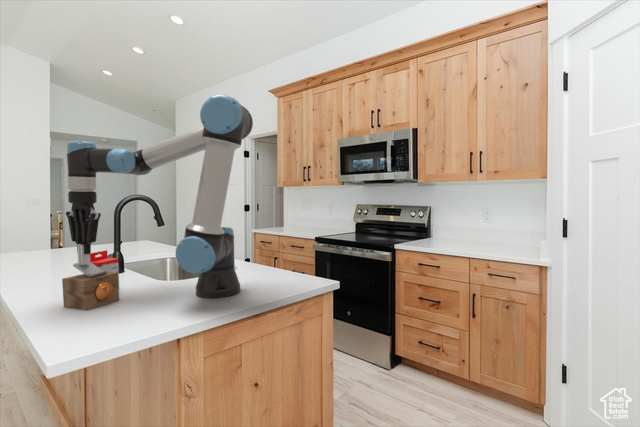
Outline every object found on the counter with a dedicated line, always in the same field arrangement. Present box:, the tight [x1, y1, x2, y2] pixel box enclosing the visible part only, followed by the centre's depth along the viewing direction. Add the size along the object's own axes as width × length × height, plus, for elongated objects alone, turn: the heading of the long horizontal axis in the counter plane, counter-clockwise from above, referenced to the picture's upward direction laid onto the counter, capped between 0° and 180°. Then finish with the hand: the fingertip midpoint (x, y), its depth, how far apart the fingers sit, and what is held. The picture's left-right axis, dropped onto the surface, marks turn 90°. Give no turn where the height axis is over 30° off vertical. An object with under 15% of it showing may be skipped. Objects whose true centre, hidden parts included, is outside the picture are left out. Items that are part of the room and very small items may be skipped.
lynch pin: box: [94, 282, 113, 300], centre depth 116 cm, size 11×6×6 cm, turn 69°
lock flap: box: [72, 262, 107, 278], centre depth 116 cm, size 8×6×1 cm, turn 70°
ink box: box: [90, 250, 120, 286], centre depth 129 cm, size 8×5×15 cm, turn 168°
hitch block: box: [61, 272, 120, 311], centre depth 116 cm, size 10×11×9 cm
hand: (84, 263), depth 117 cm, fingers closed
